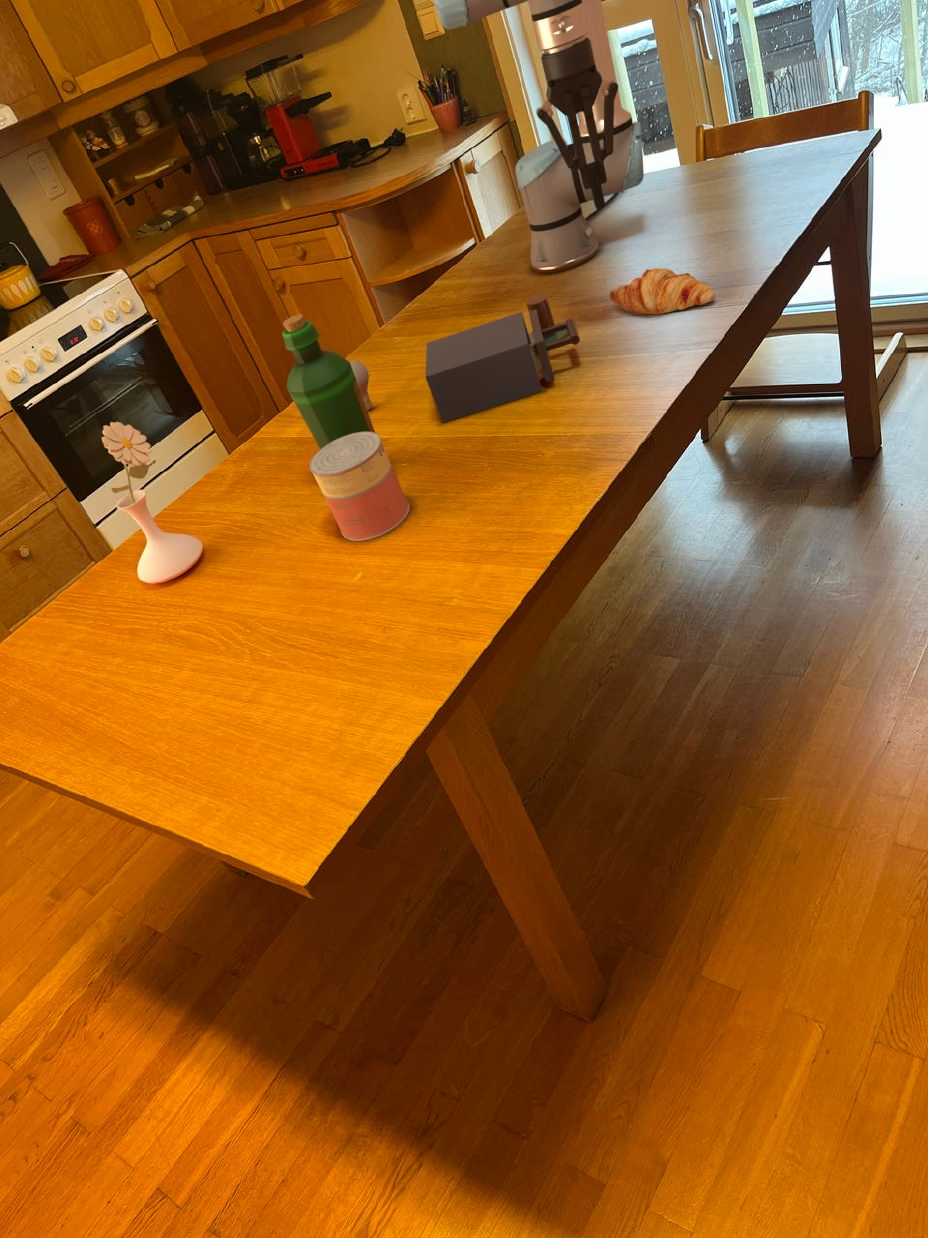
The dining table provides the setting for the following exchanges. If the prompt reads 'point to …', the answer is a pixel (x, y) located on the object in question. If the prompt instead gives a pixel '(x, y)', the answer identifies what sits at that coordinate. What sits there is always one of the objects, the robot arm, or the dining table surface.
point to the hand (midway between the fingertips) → (600, 205)
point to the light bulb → (362, 381)
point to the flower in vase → (163, 550)
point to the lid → (544, 318)
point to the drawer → (541, 348)
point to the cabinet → (481, 368)
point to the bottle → (323, 386)
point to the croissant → (662, 292)
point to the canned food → (360, 486)
